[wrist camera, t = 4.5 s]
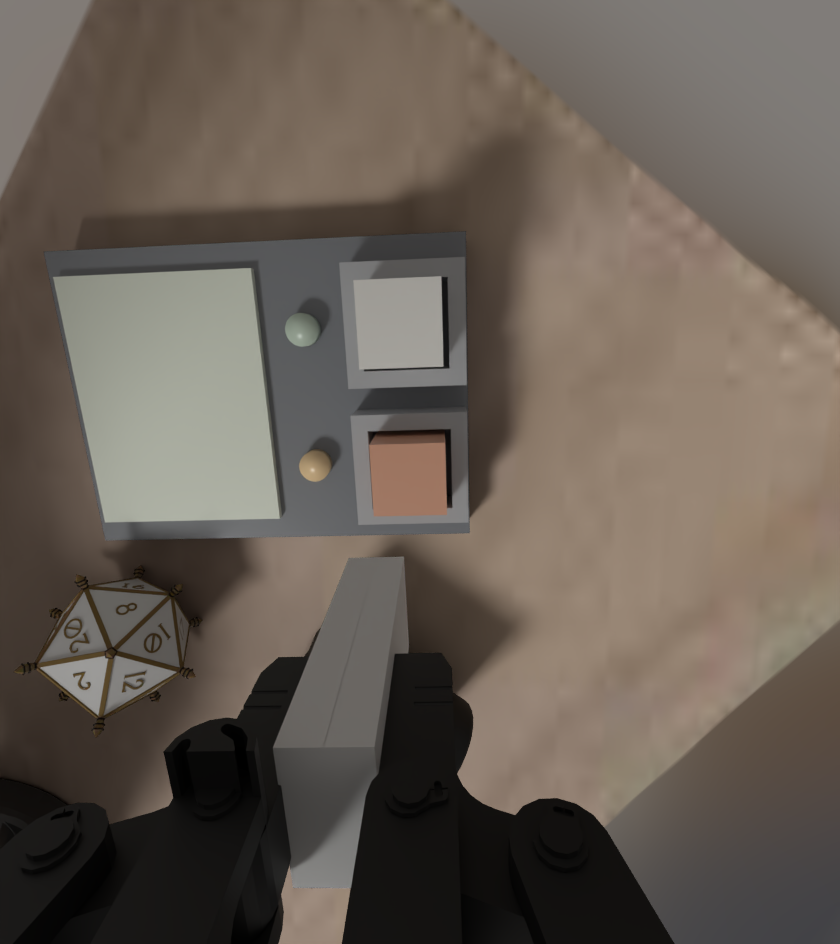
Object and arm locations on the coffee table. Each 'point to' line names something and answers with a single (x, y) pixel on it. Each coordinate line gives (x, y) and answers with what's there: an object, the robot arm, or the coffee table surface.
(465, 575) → the coffee table surface
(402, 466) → the terracotta switch
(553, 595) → the coffee table surface
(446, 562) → the coffee table surface
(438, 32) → the coffee table surface
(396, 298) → the off-white switch
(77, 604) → the game die
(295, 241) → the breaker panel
